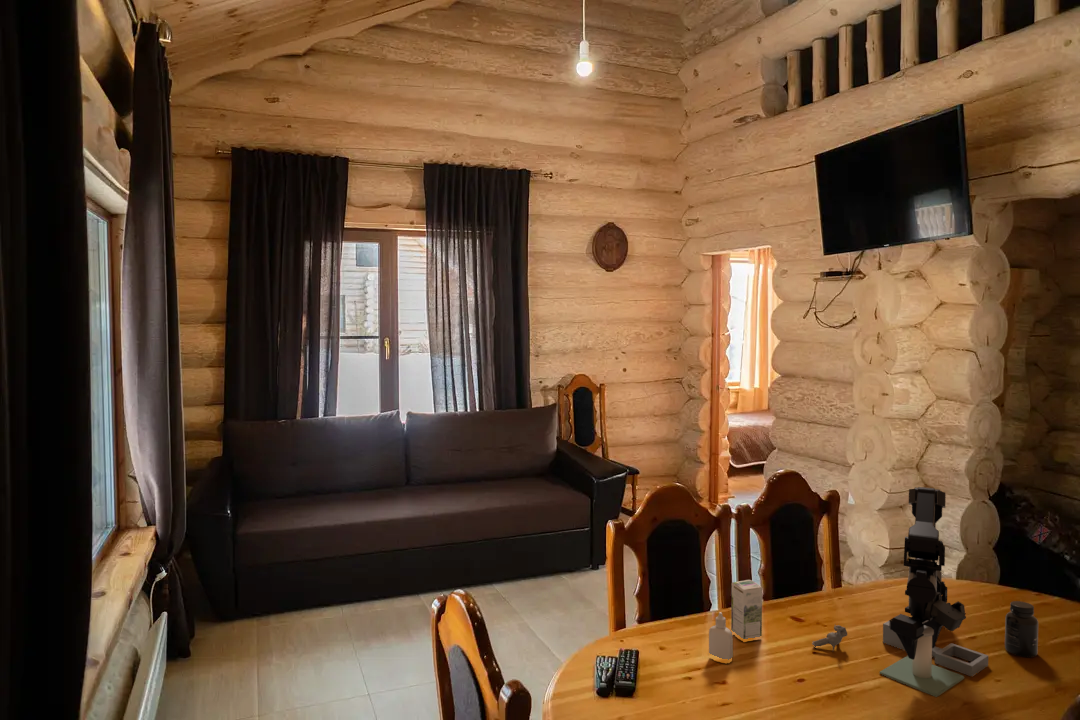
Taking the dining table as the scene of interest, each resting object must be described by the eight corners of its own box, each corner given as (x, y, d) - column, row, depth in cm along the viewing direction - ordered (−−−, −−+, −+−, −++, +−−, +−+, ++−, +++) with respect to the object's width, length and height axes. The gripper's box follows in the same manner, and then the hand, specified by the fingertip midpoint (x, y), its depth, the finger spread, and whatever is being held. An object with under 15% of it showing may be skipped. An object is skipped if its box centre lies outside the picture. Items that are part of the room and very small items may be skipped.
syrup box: (749, 631, 195) (749, 578, 194) (762, 640, 190) (762, 586, 189) (730, 634, 193) (730, 581, 192) (743, 644, 188) (743, 589, 187)
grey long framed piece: (881, 643, 187) (881, 624, 186) (898, 634, 191) (898, 615, 191) (971, 676, 169) (972, 655, 169) (988, 665, 174) (988, 645, 174)
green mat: (879, 674, 171) (879, 671, 171) (907, 657, 179) (907, 655, 179) (936, 697, 161) (936, 694, 161) (964, 678, 168) (964, 676, 168)
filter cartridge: (906, 673, 170) (907, 627, 169) (916, 667, 173) (917, 622, 172) (926, 680, 166) (927, 634, 166) (936, 674, 169) (937, 629, 168)
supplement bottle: (1042, 659, 177) (1044, 611, 176) (1011, 657, 178) (1012, 609, 177) (1030, 646, 183) (1031, 599, 182) (999, 644, 185) (1000, 598, 184)
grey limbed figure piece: (807, 639, 190) (840, 627, 190) (819, 662, 186) (852, 650, 186) (807, 628, 182) (842, 615, 182) (819, 652, 179) (854, 639, 178)
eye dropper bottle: (721, 653, 183) (721, 607, 182) (735, 663, 178) (734, 615, 177) (706, 656, 181) (706, 609, 181) (719, 667, 176) (719, 618, 175)
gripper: (938, 608, 156) (937, 679, 157) (978, 587, 167) (977, 653, 168) (888, 593, 165) (887, 660, 166) (929, 574, 176) (928, 637, 177)
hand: (921, 653), depth 169 cm, fingers open, 9 cm apart
